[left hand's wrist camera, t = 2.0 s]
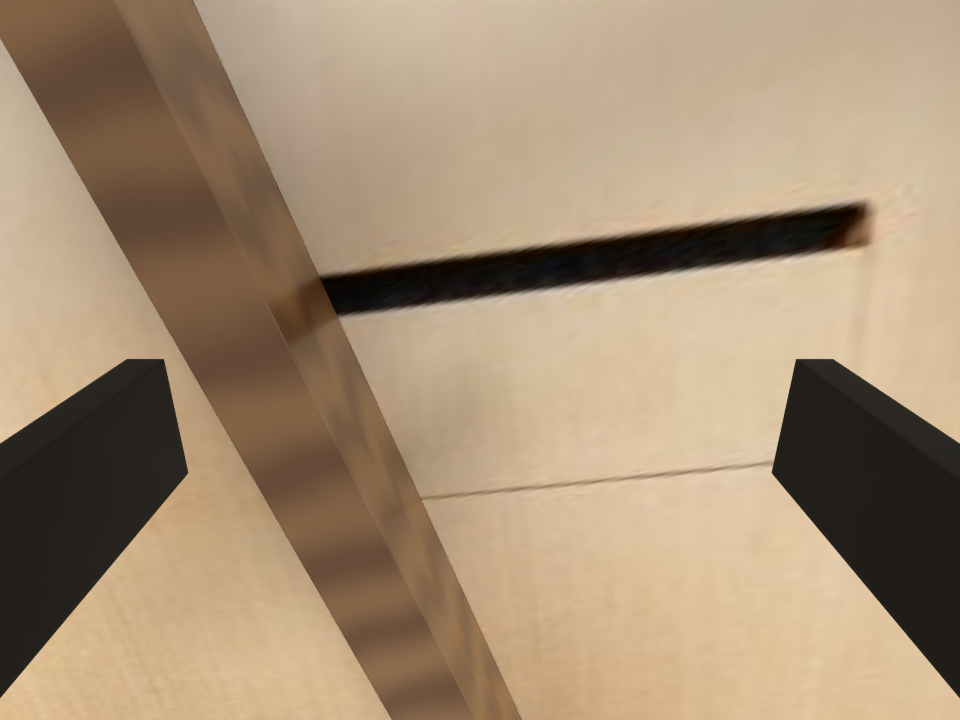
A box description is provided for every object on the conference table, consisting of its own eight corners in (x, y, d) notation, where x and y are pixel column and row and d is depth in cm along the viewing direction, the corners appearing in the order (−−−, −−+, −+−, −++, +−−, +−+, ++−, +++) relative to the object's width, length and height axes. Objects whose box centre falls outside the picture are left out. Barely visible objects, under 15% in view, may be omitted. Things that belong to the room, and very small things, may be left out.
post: (-97, -359, 24) (-349, -568, 16) (3, -415, 23) (-214, -657, 16) (528, 856, 53) (536, 971, 46) (579, 846, 52) (595, 960, 45)
